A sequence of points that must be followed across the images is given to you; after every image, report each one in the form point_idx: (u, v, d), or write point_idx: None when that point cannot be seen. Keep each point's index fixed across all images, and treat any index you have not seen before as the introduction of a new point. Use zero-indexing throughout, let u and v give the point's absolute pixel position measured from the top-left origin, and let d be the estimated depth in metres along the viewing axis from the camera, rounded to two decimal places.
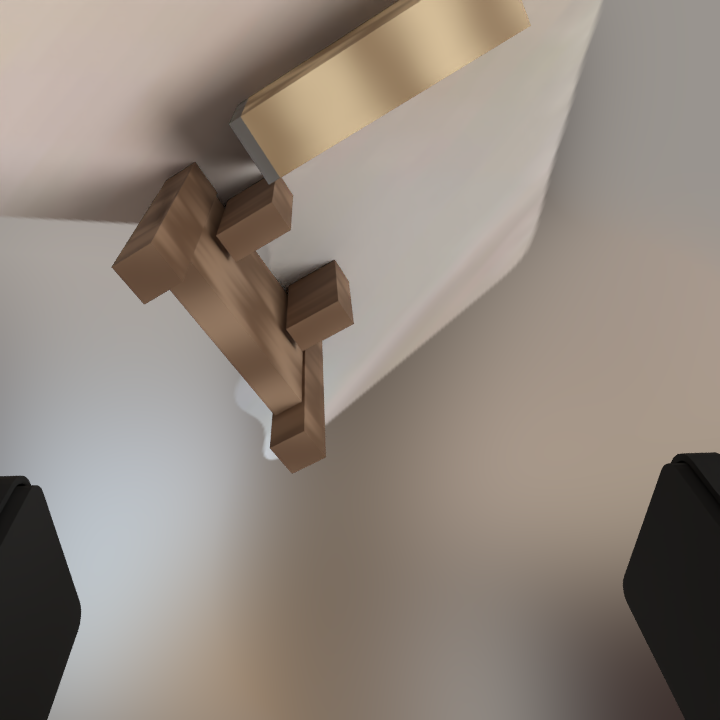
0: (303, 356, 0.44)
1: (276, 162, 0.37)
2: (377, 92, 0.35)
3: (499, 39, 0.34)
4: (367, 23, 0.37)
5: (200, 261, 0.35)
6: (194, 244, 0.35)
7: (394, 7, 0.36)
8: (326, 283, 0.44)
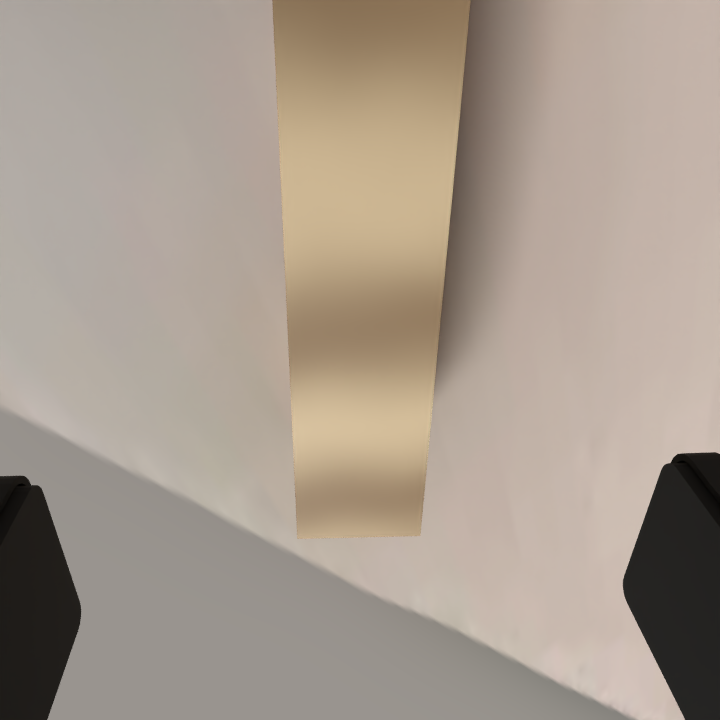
0: None
1: None
2: (333, 292, 0.16)
3: (302, 498, 0.20)
4: None
5: None
6: None
7: None
8: None
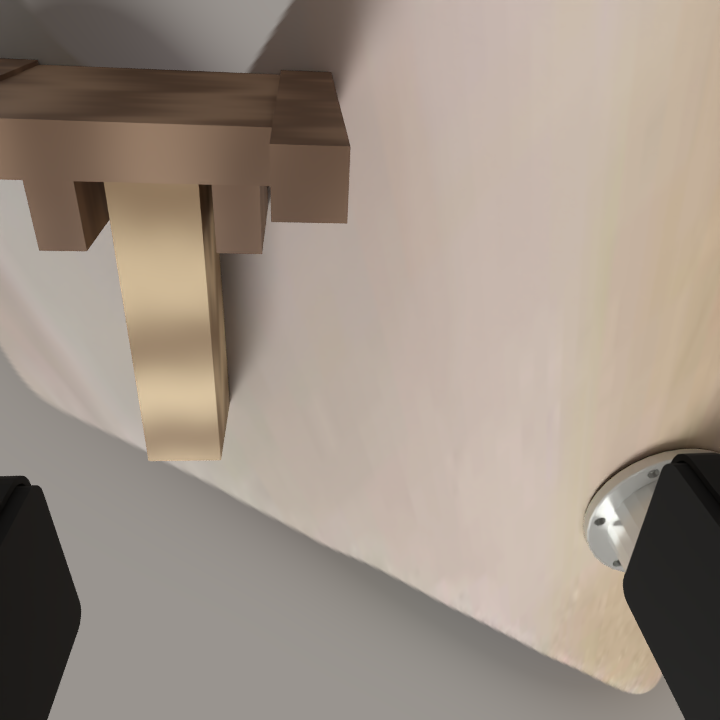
0: None
1: (124, 185, 0.28)
2: (152, 326, 0.31)
3: (149, 436, 0.35)
4: (220, 308, 0.36)
5: None
6: None
7: (221, 340, 0.36)
8: (104, 206, 0.30)
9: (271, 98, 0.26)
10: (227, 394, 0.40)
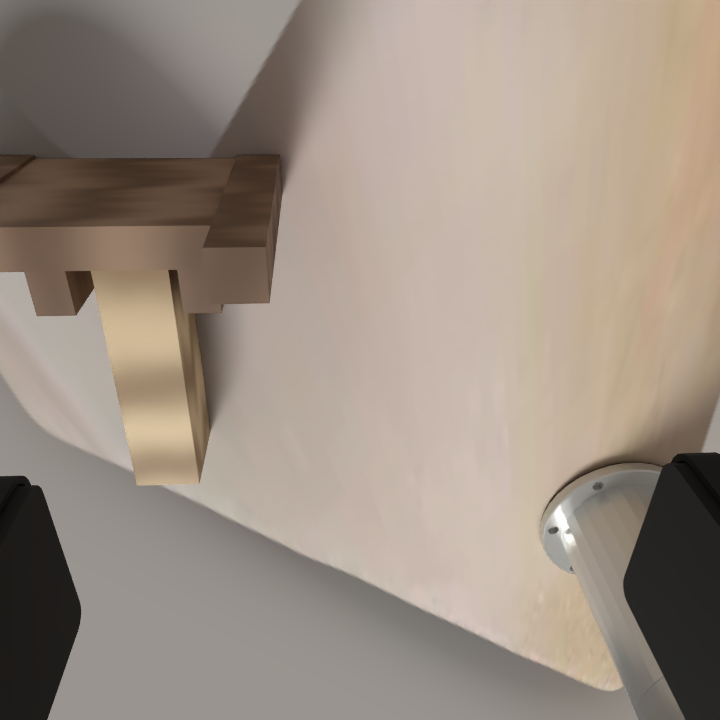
0: None
1: None
2: (134, 372, 0.37)
3: (136, 464, 0.41)
4: (196, 352, 0.41)
5: None
6: None
7: (198, 379, 0.42)
8: None
9: (221, 189, 0.31)
10: (207, 424, 0.45)
